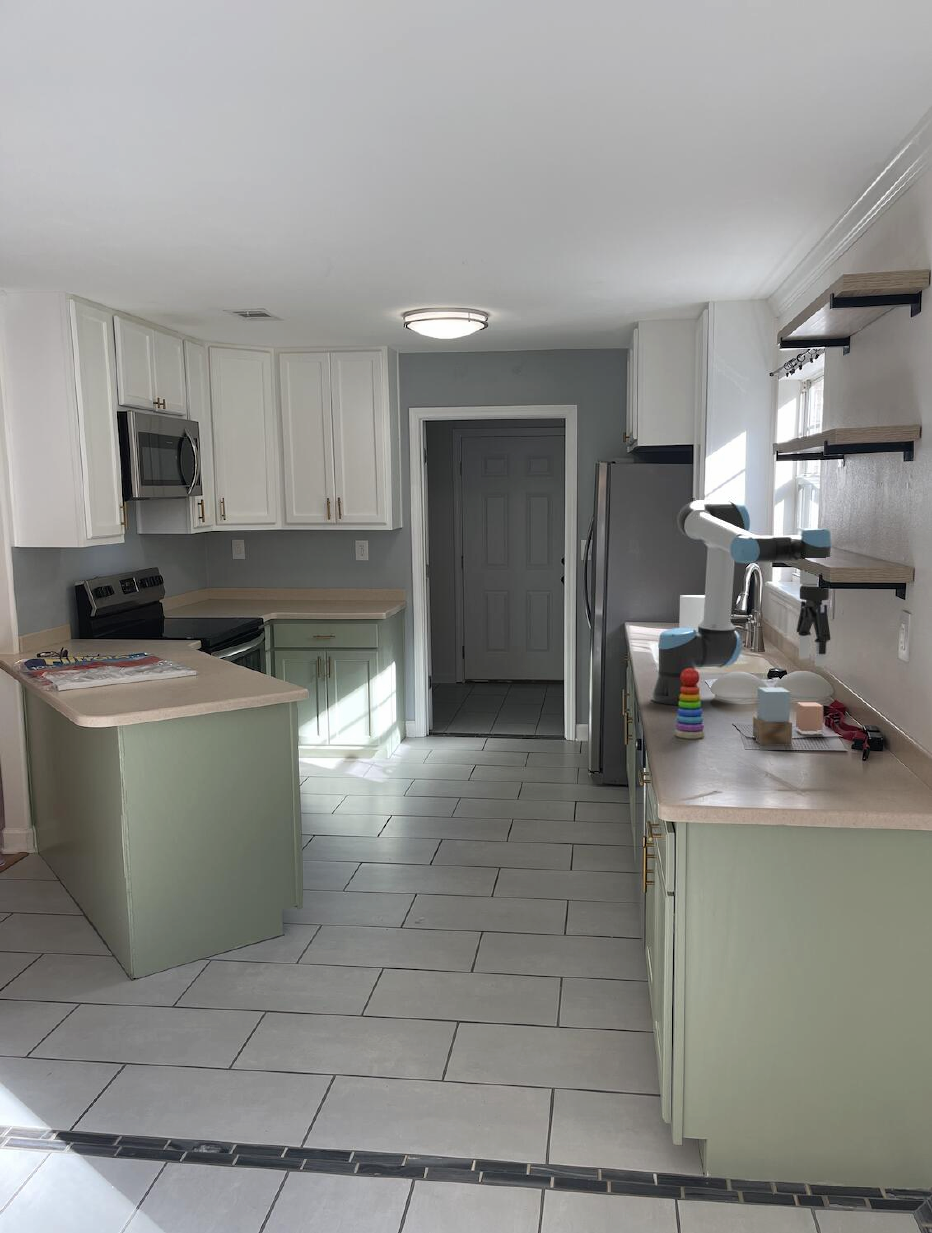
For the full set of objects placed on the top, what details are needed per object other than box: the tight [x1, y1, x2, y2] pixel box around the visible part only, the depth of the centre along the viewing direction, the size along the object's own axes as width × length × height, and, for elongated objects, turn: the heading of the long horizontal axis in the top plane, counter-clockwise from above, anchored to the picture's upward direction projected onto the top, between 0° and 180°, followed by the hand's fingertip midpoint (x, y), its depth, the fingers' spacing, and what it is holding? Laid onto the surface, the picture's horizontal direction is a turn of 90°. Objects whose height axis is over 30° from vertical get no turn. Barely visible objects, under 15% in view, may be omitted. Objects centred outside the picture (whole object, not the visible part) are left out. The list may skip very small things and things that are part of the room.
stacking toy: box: [674, 668, 706, 740], centre depth 263 cm, size 8×8×19 cm
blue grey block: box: [756, 686, 791, 722], centre depth 258 cm, size 6×6×8 cm
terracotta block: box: [795, 701, 824, 731], centre depth 268 cm, size 6×6×8 cm
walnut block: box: [752, 715, 793, 746], centre depth 259 cm, size 8×8×6 cm
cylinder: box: [678, 594, 718, 669], centre depth 387 cm, size 17×17×28 cm
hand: (812, 662), depth 266 cm, fingers open, 13 cm apart
